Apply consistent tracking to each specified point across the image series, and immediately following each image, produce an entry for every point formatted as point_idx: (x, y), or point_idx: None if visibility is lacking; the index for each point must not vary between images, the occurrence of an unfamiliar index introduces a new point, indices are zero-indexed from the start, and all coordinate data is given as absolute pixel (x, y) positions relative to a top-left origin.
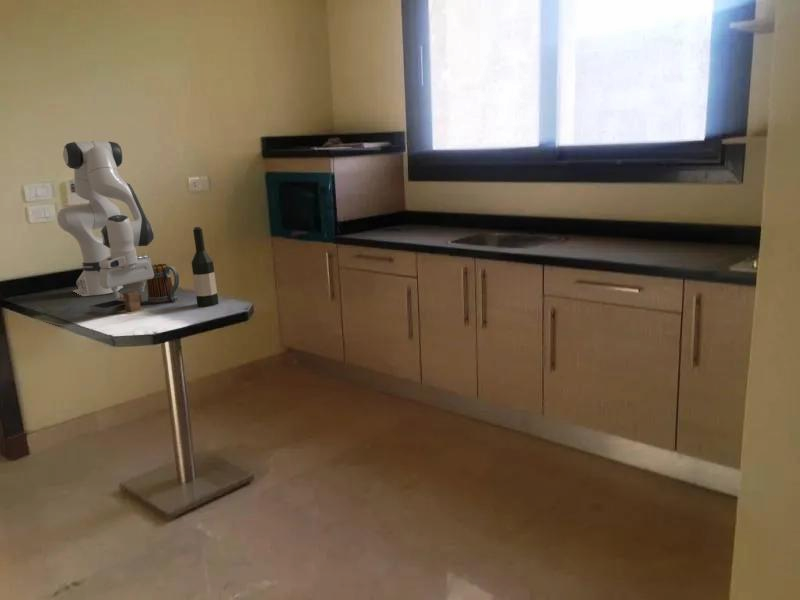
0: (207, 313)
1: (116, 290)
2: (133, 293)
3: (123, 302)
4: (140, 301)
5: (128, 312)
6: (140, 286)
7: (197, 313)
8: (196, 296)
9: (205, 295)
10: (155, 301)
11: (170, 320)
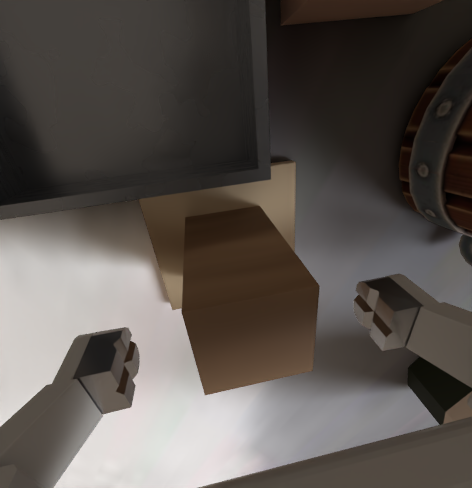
0: (343, 443)
1: (49, 486)
2: (259, 376)
3: (246, 24)
4: (420, 4)
5: (182, 272)
6: (438, 318)
7: (334, 431)
8: (449, 401)
9: None
10: (414, 198)
11: (242, 451)
